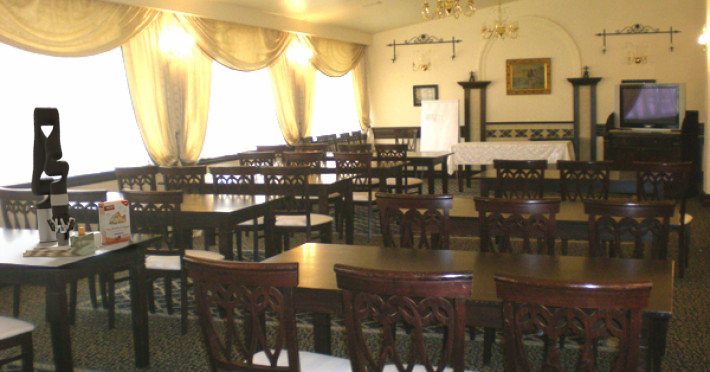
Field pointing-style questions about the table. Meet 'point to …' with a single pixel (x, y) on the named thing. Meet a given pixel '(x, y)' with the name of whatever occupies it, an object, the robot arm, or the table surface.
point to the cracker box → (114, 221)
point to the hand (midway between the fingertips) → (63, 239)
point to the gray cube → (61, 242)
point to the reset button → (81, 230)
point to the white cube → (97, 238)
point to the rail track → (79, 247)
